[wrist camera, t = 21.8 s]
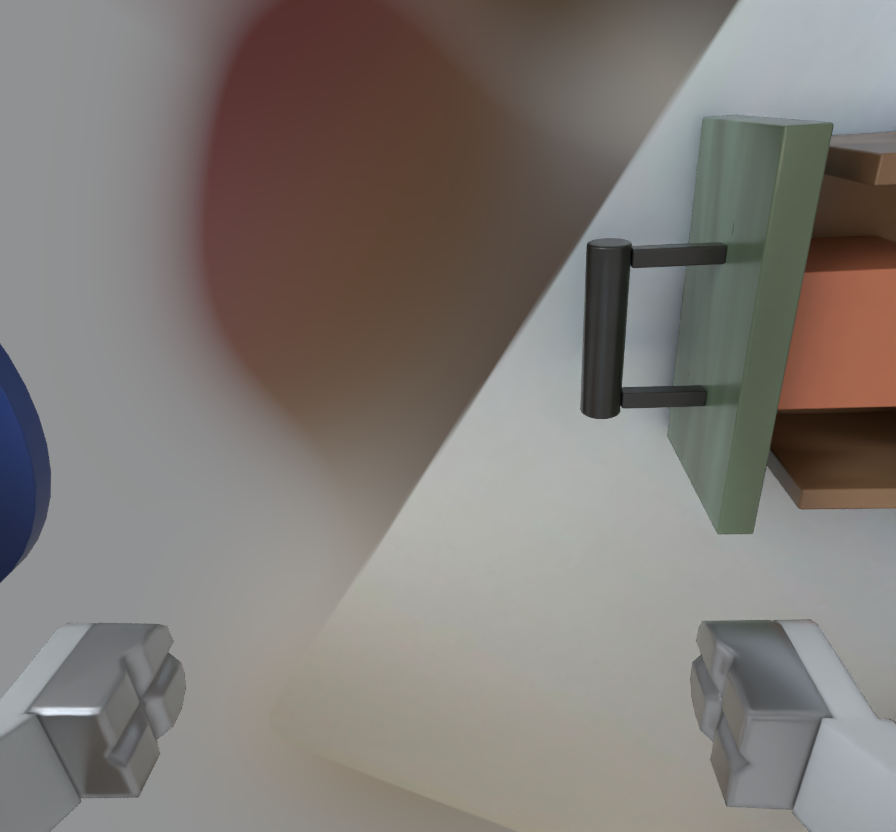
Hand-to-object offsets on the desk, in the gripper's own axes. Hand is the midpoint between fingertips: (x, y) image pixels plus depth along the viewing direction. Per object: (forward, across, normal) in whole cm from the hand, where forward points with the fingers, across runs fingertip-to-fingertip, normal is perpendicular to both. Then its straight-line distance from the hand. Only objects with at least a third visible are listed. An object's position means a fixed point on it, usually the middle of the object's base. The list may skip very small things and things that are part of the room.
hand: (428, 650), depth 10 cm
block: (+16, -12, 0) cm, 20 cm away
